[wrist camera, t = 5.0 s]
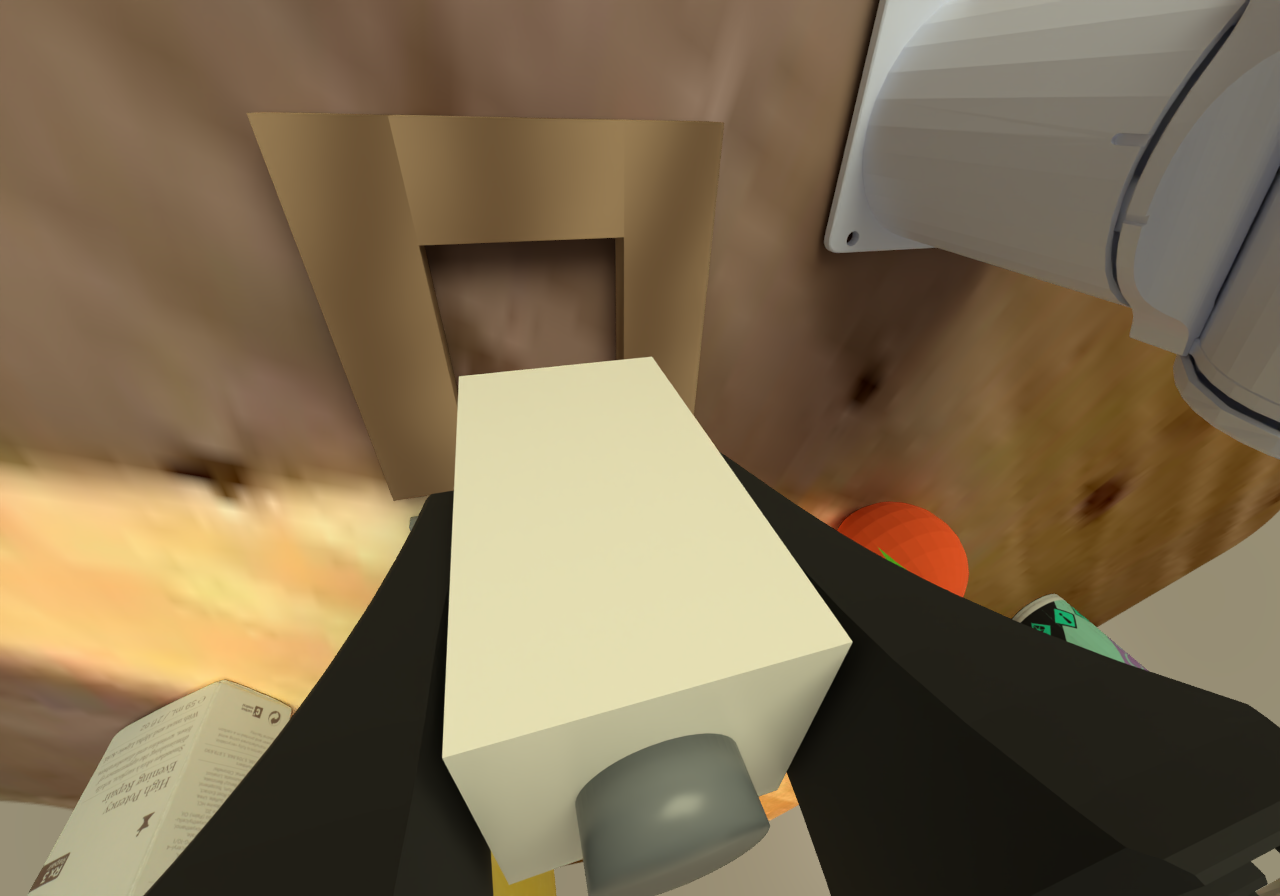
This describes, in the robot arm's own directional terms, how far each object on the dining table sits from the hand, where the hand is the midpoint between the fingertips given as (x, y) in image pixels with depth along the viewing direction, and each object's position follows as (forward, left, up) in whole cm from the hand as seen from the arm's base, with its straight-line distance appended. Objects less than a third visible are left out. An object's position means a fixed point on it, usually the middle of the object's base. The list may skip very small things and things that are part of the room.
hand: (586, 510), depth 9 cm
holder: (0, 0, -10) cm, 10 cm away
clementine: (-18, +14, -10) cm, 25 cm away
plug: (0, 0, -2) cm, 2 cm away
